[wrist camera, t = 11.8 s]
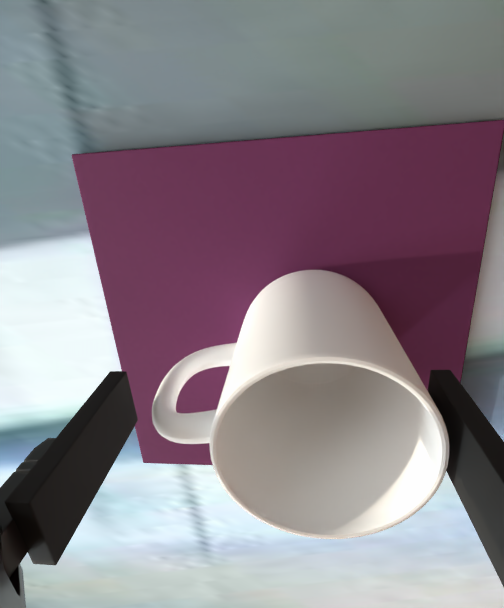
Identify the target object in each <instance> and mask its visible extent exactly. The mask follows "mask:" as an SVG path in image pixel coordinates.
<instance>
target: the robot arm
mask: <svg viewBox="0 0 504 608" xmlns="http://www.w3.org/2000/svg"><path fill="white" fill-rule="evenodd" d="M428 393H429V395H430V396H431V398H432V400H433V401H434V403H435V405H436V407H437V408H438V410H439V412H440V414H441V415H442V417H443V420H444V422H445V425H446V428H447V432H448V436H449V445H450V446H449V460H448V466H447V469H446V471H447V473H448V475H449V477H450V479H451V481H452V483H453V485H454V487H455V489H456V491H457V493H458V495H459V497H460V499H461V501H462V503H463V505H464V507H465V509H466V511H467V513H468V515H469V517H470V520H471V522H472V524H473V526H474V528H475V530H476V532H477V534H478V536H479V538H480V540H481V542H482V544H483V546H484V548H485V550H486V552H487V554H488V556H489V558H490V560H491V562H492V564H493V566H494V568H495V570H496V572H497V574H498V576H499V578H500V580H501V582H502V584H503V587H504V442H503V440H502V439H501V438H500V436H499V435H498V434H497V432H496V431H495V430H494V428H493V427H492V425H491V424H490V423H489V421H488V420H487V419H486V417H485V416H484V415H483V413H482V412H481V411H480V409H479V408H478V407H477V405H476V404H475V402H474V401H473V400H472V398H471V397H470V396H469V394H468V393H467V392H466V390H465V389H464V388H463V386H462V385H461V384H460V382H459V381H458V379H457V378H456V377H455V375H454V374H453V373H452V371H451V370H431V371H430V378H429V385H428ZM137 421H138V418H137V414H136V409H135V405H134V401H133V397H132V393H131V388H130V384H129V380H128V376H127V372H126V371H116V372H110V373H109V374H108V375H107V376H106V378H105V379H104V380H103V381H102V382H101V384H100V385H99V386H98V387H97V389H96V390H95V391H94V392H93V393H92V395H91V396H90V397H89V398H88V400H87V401H86V402H85V403H84V405H83V406H82V407H81V408H80V409H79V411H78V412H77V413H76V414H75V416H74V417H73V418H72V419H71V420H70V422H69V423H68V424H67V425H66V427H65V428H64V429H63V430H62V431H61V433H60V434H59V435H58V436H57V438H48V439H46V440H45V441H44V442H42V443H41V444H40V445H38V446H37V447H35V448H34V449H33V450H32V452H31V453H30V454H29V455H28V456H27V457H26V459H25V460H24V462H22V463H21V464H20V466H19V467H18V468H17V469H16V472H14V473H13V474H12V475H11V476H10V477H9V478H8V480H7V481H6V482H5V483H4V484H3V485H2V487H1V488H0V608H26V604H25V592H24V580H23V570H22V568H21V565H20V562H21V561H22V559H23V558H24V556H25V555H26V553H27V552H28V553H29V556H30V558H31V560H32V562H33V564H45V565H56V564H57V562H58V561H59V559H60V557H61V555H62V554H63V552H64V550H65V548H66V547H67V545H68V543H69V541H70V539H71V538H72V536H73V534H74V532H75V531H76V529H77V527H78V525H79V524H80V522H81V520H82V518H83V516H84V515H85V513H86V511H87V509H88V508H89V506H90V504H91V502H92V501H93V499H94V497H95V495H96V493H97V492H98V490H99V488H100V486H101V485H102V483H103V481H104V479H105V478H106V476H107V474H108V472H109V470H110V469H111V467H112V465H113V463H114V462H115V460H116V458H117V456H118V455H119V453H120V451H121V449H122V447H123V446H124V444H125V442H126V440H127V439H128V437H129V435H130V433H131V432H132V430H133V428H134V426H135V424H136V423H137Z"/></svg>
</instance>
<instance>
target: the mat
mask: <svg viewBox="0 0 504 608" xmlns="http://www.w3.org/2000/svg"><path fill="white" fill-rule="evenodd" d="M503 133H504V120H495V121H483V122H470V123H458V124H445V125H433V126H420V127H408V128H396V129H383V130H371V131H358V132H346V133H333V134H321V135H308V136H296V137H283V138H271V139H259V140H246V141H234V142H221V143H209V144H196V145H184V146H171V147H159V148H146V149H134V150H122V151H109V152H97V153H84V154H73V155H72V159H73V163H74V167H75V172H76V176H77V180H78V185H79V189H80V193H81V197H82V202H83V206H84V210H85V215H86V219H87V223H88V227H89V232H90V236H91V240H92V244H93V249H94V253H95V257H96V262H97V266H98V270H99V274H100V279H101V283H102V287H103V292H104V296H105V300H106V304H107V309H108V313H109V317H110V322H111V326H112V330H113V334H114V339H115V343H116V347H117V351H118V356H119V360H120V364H121V369H122V371H126V372H127V376H128V380H129V384H130V388H131V393H132V397H133V401H134V405H135V409H136V414H137V418H138V421H137V423H136V424H135V429H136V433H137V437H138V441H139V446H140V450H141V454H142V458H143V462H144V463H165V464H197V465H213V464H212V461H211V455H210V443H203V444H182V443H176V442H172V441H169V440H168V439H166V438H164V437H162V436H161V435H160V434H159V433H158V432H157V430H156V428H155V426H154V425H153V421H152V406H153V401H154V398H155V395H156V393H157V390H158V388H159V386H160V384H161V382H162V381H163V379H164V377H165V376H166V375H167V373H168V372H169V371H170V370H171V369H172V368H173V367H174V366H175V365H176V364H177V363H178V362H179V361H181V360H182V359H184V358H185V357H187V356H188V355H190V354H192V353H194V352H196V351H199V350H202V349H205V348H208V347H212V346H217V345H223V344H231V343H237V341H238V338H239V334H240V331H241V328H242V325H243V322H244V319H245V316H246V314H247V311H248V309H249V307H250V305H251V304H252V302H253V301H254V299H255V298H256V297H257V295H258V294H259V293H260V292H261V291H262V290H263V289H264V288H265V287H266V286H267V285H269V284H270V283H272V282H273V281H275V280H276V279H278V278H280V277H282V276H284V275H287V274H290V273H293V272H297V271H303V270H325V271H330V272H335V273H338V274H341V275H343V276H345V277H348V278H349V279H351V280H353V281H355V282H356V283H357V284H359V285H360V286H361V287H362V288H364V289H365V290H366V291H367V292H368V293H369V294H370V296H371V297H372V298H373V299H374V301H375V302H376V304H377V305H378V307H379V308H380V310H381V312H382V313H383V315H384V317H385V319H386V320H387V322H388V324H389V325H390V327H391V329H392V331H393V332H394V334H395V336H396V338H397V339H398V341H399V343H400V344H401V346H402V348H403V350H404V351H405V353H406V355H407V357H408V358H409V360H410V362H411V363H412V365H413V367H414V369H415V370H416V372H417V374H418V376H419V377H420V379H421V381H422V382H423V384H424V386H425V388H426V389H427V391H428V385H429V378H430V371H431V370H451V371H452V373H453V374H454V375H455V377H456V378H457V379H458V381H459V382H461V376H462V371H463V365H464V359H465V353H466V347H467V342H468V336H469V330H470V324H471V318H472V313H473V307H474V301H475V295H476V289H477V284H478V278H479V272H480V266H481V260H482V255H483V249H484V243H485V237H486V231H487V226H488V220H489V214H490V208H491V202H492V197H493V191H494V185H495V179H496V173H497V168H498V162H499V156H500V150H501V144H502V139H503ZM229 367H230V366H220V367H213V368H209V369H205V370H202V371H200V372H198V373H196V374H194V375H193V376H192V377H191V378H190V379H189V380H188V381H187V382H186V383H185V384H184V386H183V387H182V389H181V390H180V392H179V395H178V398H177V402H176V412H177V413H197V412H204V411H211V410H217V407H218V404H219V400H220V397H221V394H222V390H223V387H224V384H225V381H226V377H227V374H228V371H229Z"/></svg>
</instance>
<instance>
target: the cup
mask: <svg viewBox="0 0 504 608" xmlns="http://www.w3.org/2000/svg"><path fill="white" fill-rule="evenodd" d="M220 366H230V367H229V371H228V374H227V377H226V381H225V384H224V387H223V390H222V394H221V397H220V400H219V404H218V407H217V410H211V411H204V412H197V413H177V412H176V402H177V398H178V395H179V392H180V390H181V389H182V387H183V386H184V384H185V383H186V382H187V381H188V380H189V379H190V378H191V377H192V376H193V375H194V374H196V373H198V372H200V371H202V370H205V369H209V368H213V367H220ZM152 421H153V425H154V426H155V428H156V430H157V432H158V433H159V434H160V435H161V436H162V437H164V438H166V439H168V440H169V441H172V442H176V443H182V444H203V443H210V455H211V461H212V464H213V467H214V470H215V473H216V475H217V477H218V479H219V481H220V483H221V485H222V486H223V488H224V489H225V491H226V492H227V493H228V494H229V496H230V497H231V498H232V499H233V500H234V501H235V502H236V503H237V504H238V505H239V506H240V507H241V508H243V509H244V510H245V511H246V512H248V513H249V514H251V515H252V516H253V517H255V518H257V519H258V520H260V521H262V522H264V523H266V524H268V525H270V526H272V527H274V528H277V529H279V530H282V531H285V532H288V533H292V534H296V535H300V536H306V537H312V538H321V539H344V538H354V537H360V536H365V535H369V534H373V533H377V532H380V531H383V530H385V529H388V528H390V527H393V526H395V525H397V524H399V523H401V522H402V521H404V520H406V519H408V518H409V517H411V516H412V515H413V514H415V513H416V512H417V511H419V510H420V509H421V508H422V507H423V506H424V505H425V504H426V503H427V502H428V501H429V500H430V499H431V498H432V496H433V495H434V494H435V492H436V491H437V489H438V488H439V486H440V484H441V483H442V480H443V478H444V476H445V473H446V469H447V466H448V460H449V446H450V445H449V436H448V432H447V428H446V425H445V422H444V420H443V417H442V415H441V414H440V412H439V410H438V408H437V407H436V405H435V403H434V401H433V400H432V398H431V396H430V395H429V393H428V391H427V389H426V388H425V386H424V384H423V382H422V381H421V379H420V377H419V376H418V374H417V372H416V370H415V369H414V367H413V365H412V363H411V362H410V360H409V358H408V357H407V355H406V353H405V351H404V350H403V348H402V346H401V344H400V343H399V341H398V339H397V338H396V336H395V334H394V332H393V331H392V329H391V327H390V325H389V324H388V322H387V320H386V319H385V317H384V315H383V313H382V312H381V310H380V308H379V307H378V305H377V304H376V302H375V301H374V299H373V298H372V297H371V296H370V294H369V293H368V292H367V291H366V290H365V289H364V288H362V287H361V286H360V285H359V284H357V283H356V282H355V281H353V280H351V279H349V278H348V277H345V276H343V275H341V274H338V273H335V272H330V271H325V270H303V271H297V272H293V273H290V274H287V275H284V276H282V277H280V278H278V279H276V280H275V281H273V282H272V283H270V284H269V285H267V286H266V287H265V288H264V289H263V290H262V291H261V292H260V293H259V294H258V295H257V297H256V298H255V299H254V301H253V302H252V304H251V305H250V307H249V309H248V311H247V314H246V316H245V319H244V322H243V325H242V328H241V331H240V334H239V338H238V341H237V343H231V344H223V345H217V346H212V347H208V348H205V349H202V350H199V351H196V352H194V353H192V354H190V355H188V356H187V357H185V358H184V359H182V360H181V361H179V362H178V363H177V364H176V365H175V366H174V367H173V368H172V369H171V370H170V371H169V372H168V373H167V375H166V376H165V377H164V379H163V381H162V382H161V384H160V386H159V388H158V390H157V393H156V395H155V398H154V401H153V406H152Z"/></svg>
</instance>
